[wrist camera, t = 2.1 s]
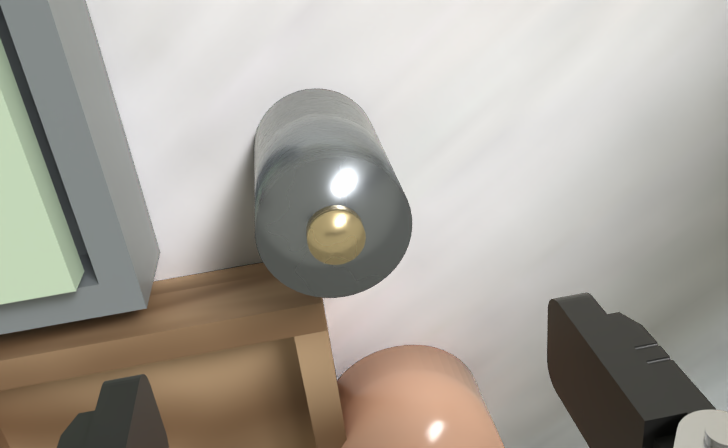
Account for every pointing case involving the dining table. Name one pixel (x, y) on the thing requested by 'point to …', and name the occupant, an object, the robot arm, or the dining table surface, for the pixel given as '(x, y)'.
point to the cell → (326, 197)
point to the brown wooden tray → (186, 366)
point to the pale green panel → (29, 209)
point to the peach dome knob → (414, 402)
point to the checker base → (79, 163)
